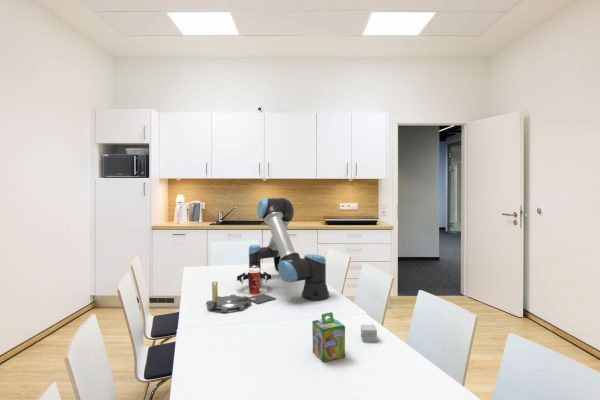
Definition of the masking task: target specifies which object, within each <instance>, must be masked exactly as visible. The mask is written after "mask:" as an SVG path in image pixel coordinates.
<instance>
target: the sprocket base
mask: <svg viewBox="0 0 600 400" xmlns="http://www.w3.org/2000/svg"><path fill="white" fill-rule="evenodd" d="M208 306H210V305H206V308H207V310H208V311H210V312H212V313H219V314H231V313H232V314H233V313H238V312H241V311H244V310H247V309H248V308H249V307H250V306H251V304H247V305H246V306H244V309H241V310H239V309H233V310H228V311H227V312H221V310H217V309H213V310H210V309H208Z"/></svg>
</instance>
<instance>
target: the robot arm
mask: <svg viewBox="0 0 600 400" xmlns="http://www.w3.org/2000/svg"><path fill="white" fill-rule="evenodd" d="M294 208H295V207H294V205H293V203H292V202H291V201H290V200H289V199H287V198H284V197H278V198H277V197H275V198H269V197H268V198H267V197H266V198H261V199H260V200H259V201H258V202H257V207H256V214H257V217H258V219H263V222H264V223H265V225H268V228H269V230H270V233H271V236H270V240H269V242H268V246H264V247H262V246H261V245H260V244H250V245H249V247H248V269H250V268H259V269H260V270H261V267H262V266H261V262H262V261H261V260H264V259H272V258H273V259H274V257H278V256H280V257H281V258H280V260H279V264H278V271H277V272H278V275H279V277H280V280H282V281H283V282H284V283H296V282H300V281H304V285H303V289H302V291H301V297H302V298H303V299H304V300H307V301H308V300H309V301H323V300H327V299H329V298H330V291H329V290H328V286H327V282H326V281H327V276H326V275H327V273H326V272H327V271H326V270H327V268H326V267H327V263H326V258H325V256H323V255H319V254H310V253H308V254H304V257H301V256H300V253H299V252H297V251H295V248H294V246H293V243H292V241H291V238H290V236H289V233H288V231H287V229H288V226H289V224H290V222H292V220H293V218H294V214H295V209H294ZM261 271H262V270H261ZM260 279H262V280H265V281H264V283H265V284H267V283H268V282H267V281H269V280H272V274H270V273H268V272H266V271H264V272H260ZM245 280H249V279H248V273H246V272H243V273H240V274H239V275H237V276H236V281H237V282H240V283H241V285H243V284H244V281H245Z"/></svg>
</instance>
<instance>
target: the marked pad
mask: <svg viewBox="0 0 600 400" xmlns="http://www.w3.org/2000/svg"><path fill="white" fill-rule="evenodd" d="M248 297H249V299H248V300H252V303H254V304H257V305H262V304H264V303H268V302H271V301H276V300H277V297H274V296H272V295H269V294H265V293H261V294H260V293H259V294H255V295H252V296H248Z"/></svg>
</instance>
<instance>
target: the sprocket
mask: <svg viewBox="0 0 600 400" xmlns="http://www.w3.org/2000/svg"><path fill="white" fill-rule="evenodd" d="M218 288H219V287H218V281H212V282H211V297H212V299H211V300H207V301H206V302H205V305H206V306H207V305H210V306H208V309H210V310H213V309H217V310H221V312H227V311H228V310H233V309H239V310H241V309H244V306H246V305H247V304H250V305H252V303H253V302H252V300H248V299H249V297H250V296H247V295H242V296H240V295H236V294H230V295H226V296H225V295H224V296H219V295H218ZM208 309H207V310H208Z"/></svg>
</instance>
